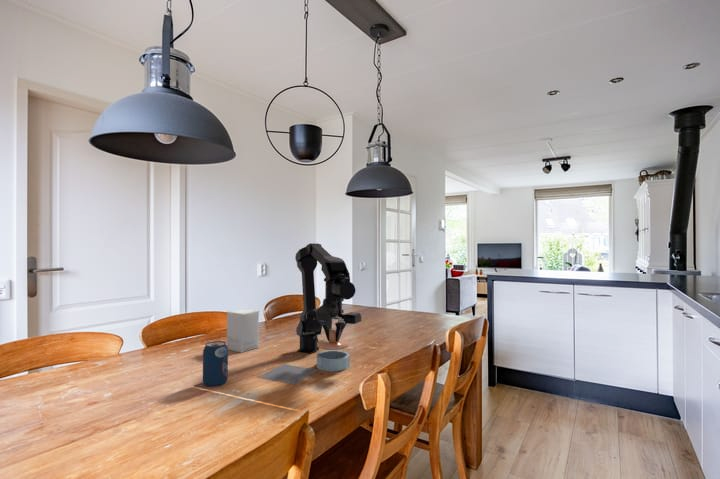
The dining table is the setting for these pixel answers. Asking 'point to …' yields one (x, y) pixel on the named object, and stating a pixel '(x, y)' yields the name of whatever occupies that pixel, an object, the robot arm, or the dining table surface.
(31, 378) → the dining table surface
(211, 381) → the soda can
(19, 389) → the dining table surface
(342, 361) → the bowl
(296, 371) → the mat
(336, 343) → the lid
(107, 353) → the dining table surface
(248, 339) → the supplement box
